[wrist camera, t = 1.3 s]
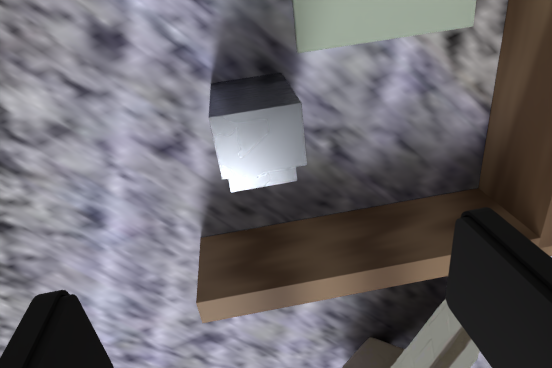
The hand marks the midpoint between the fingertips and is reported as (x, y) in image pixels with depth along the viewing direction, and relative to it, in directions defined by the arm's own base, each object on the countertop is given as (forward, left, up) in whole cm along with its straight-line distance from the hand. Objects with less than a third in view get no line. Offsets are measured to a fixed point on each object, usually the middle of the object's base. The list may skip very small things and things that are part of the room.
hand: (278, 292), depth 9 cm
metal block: (0, +1, -15) cm, 15 cm away
